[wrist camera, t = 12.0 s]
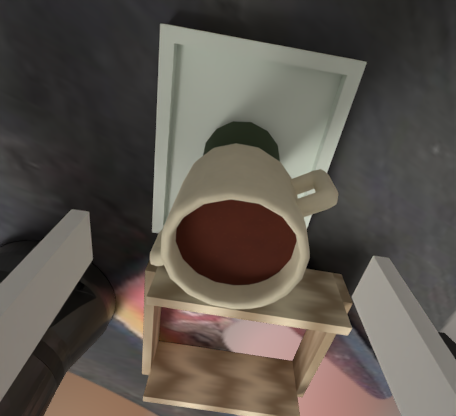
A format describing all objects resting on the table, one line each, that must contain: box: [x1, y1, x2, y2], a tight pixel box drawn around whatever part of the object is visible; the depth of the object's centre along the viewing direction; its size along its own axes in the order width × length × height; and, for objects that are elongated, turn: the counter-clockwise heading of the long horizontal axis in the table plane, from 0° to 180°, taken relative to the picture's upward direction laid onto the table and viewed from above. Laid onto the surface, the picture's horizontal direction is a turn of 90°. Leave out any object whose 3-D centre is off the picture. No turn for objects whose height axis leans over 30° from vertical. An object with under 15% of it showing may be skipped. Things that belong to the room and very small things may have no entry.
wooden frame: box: [142, 260, 353, 416], centre depth 33 cm, size 20×17×7 cm
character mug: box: [150, 121, 338, 309], centre depth 20 cm, size 11×7×13 cm, turn 115°
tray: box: [152, 23, 367, 233], centre depth 25 cm, size 14×17×2 cm
